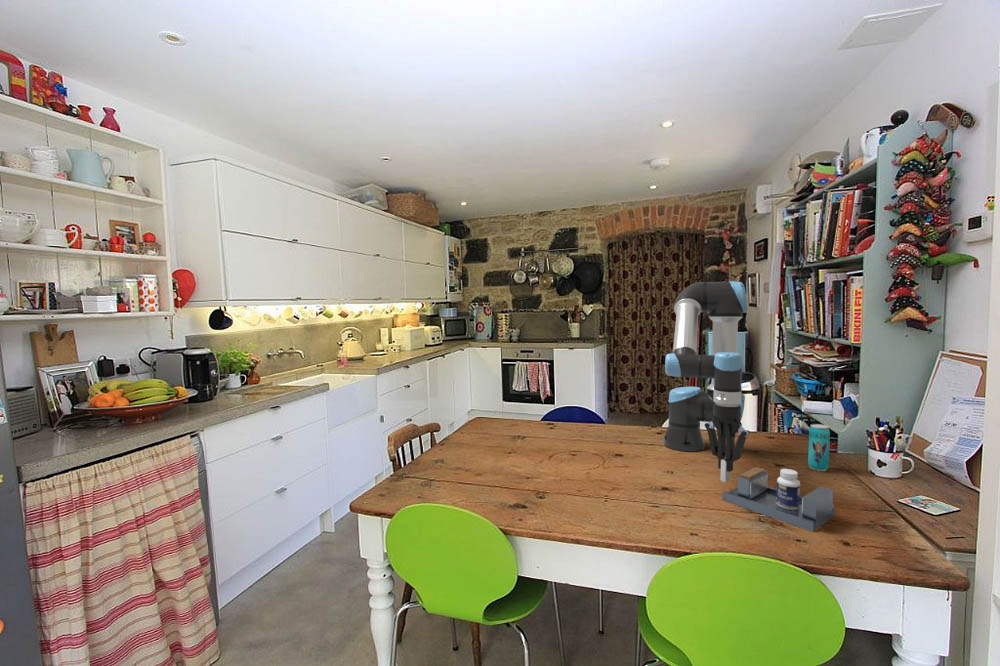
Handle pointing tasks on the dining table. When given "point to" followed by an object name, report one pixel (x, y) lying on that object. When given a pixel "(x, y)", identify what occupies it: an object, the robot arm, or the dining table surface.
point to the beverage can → (819, 447)
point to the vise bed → (807, 516)
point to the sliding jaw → (752, 483)
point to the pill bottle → (788, 490)
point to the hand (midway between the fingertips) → (725, 480)
